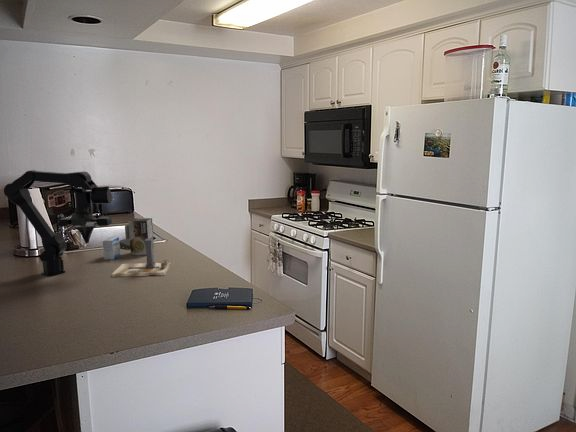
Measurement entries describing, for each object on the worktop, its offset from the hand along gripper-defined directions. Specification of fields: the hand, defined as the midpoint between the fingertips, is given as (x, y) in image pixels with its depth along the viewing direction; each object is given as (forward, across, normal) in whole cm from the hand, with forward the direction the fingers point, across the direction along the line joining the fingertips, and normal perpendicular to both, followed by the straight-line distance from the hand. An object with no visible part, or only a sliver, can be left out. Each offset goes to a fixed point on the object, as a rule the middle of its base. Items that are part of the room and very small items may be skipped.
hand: (87, 243), depth 181 cm
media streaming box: (+12, +6, +47) cm, 49 cm away
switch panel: (+12, +21, 0) cm, 24 cm away
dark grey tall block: (+10, +24, 0) cm, 26 cm away
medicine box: (+12, +2, +23) cm, 26 cm away
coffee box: (+12, +14, +29) cm, 35 cm away
